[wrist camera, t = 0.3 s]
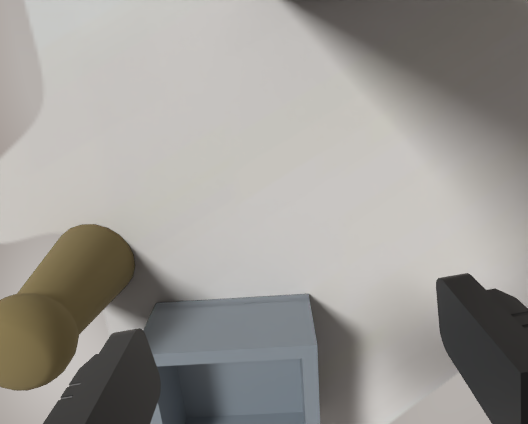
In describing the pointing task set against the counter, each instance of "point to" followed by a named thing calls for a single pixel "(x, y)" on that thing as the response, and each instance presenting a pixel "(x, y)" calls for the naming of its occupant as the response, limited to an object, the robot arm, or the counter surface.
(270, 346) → the crate
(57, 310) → the cork
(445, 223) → the counter surface
